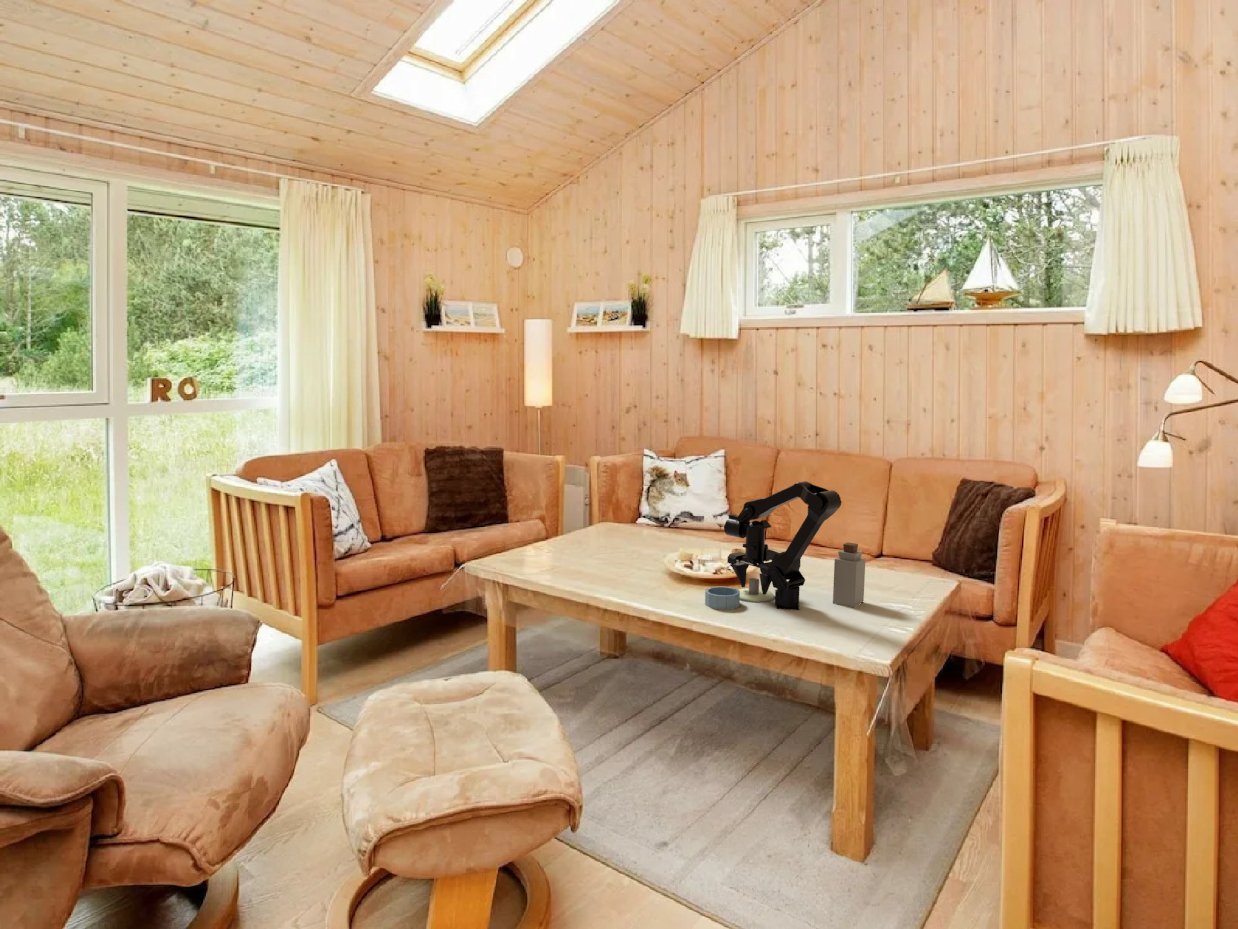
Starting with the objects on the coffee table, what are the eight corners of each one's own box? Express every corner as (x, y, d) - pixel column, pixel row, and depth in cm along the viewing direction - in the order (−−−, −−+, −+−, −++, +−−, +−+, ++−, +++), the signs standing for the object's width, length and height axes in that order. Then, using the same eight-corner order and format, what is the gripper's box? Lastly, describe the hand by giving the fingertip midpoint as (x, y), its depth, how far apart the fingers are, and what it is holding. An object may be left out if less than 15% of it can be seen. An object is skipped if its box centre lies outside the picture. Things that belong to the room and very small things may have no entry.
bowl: (739, 601, 232) (740, 587, 231) (738, 611, 222) (739, 597, 222) (706, 599, 234) (706, 585, 233) (704, 609, 224) (704, 595, 224)
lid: (773, 591, 241) (773, 575, 240) (773, 603, 229) (774, 585, 228) (734, 589, 243) (735, 573, 242) (733, 600, 231) (733, 583, 231)
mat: (774, 592, 241) (775, 591, 241) (775, 604, 229) (775, 603, 229) (733, 590, 244) (733, 589, 244) (731, 602, 231) (731, 601, 231)
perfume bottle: (842, 598, 236) (844, 540, 233) (863, 602, 231) (866, 543, 229) (832, 603, 231) (835, 544, 228) (854, 607, 226) (857, 547, 224)
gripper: (796, 543, 231) (795, 594, 233) (752, 532, 246) (751, 579, 248) (770, 548, 225) (768, 600, 226) (726, 536, 240) (725, 585, 242)
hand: (753, 590), depth 236 cm, fingers open, 9 cm apart
